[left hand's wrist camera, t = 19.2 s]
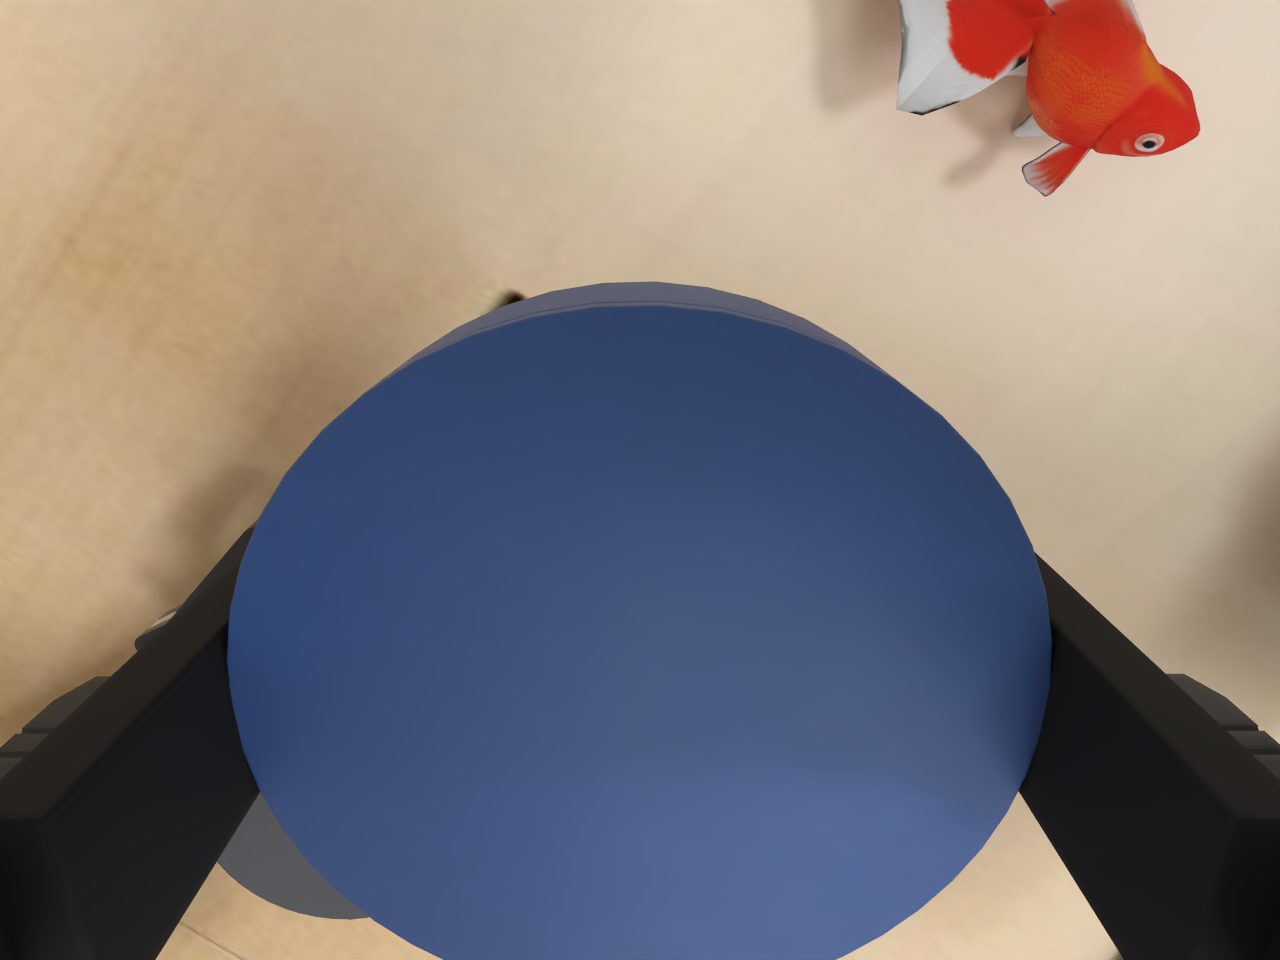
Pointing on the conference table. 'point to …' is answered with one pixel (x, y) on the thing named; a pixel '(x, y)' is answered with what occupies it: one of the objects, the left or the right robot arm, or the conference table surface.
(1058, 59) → the fish
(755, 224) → the conference table surface
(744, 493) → the lid
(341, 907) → the jar
